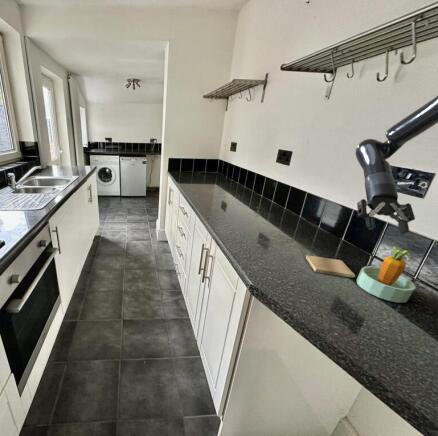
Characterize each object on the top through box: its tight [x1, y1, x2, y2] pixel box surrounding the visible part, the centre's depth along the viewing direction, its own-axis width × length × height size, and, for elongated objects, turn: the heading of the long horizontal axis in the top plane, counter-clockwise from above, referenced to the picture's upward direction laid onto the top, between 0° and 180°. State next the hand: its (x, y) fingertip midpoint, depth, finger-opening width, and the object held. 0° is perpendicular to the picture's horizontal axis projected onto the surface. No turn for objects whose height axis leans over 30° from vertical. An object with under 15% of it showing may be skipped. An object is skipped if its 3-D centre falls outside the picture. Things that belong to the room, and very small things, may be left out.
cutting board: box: [305, 254, 356, 279], centre depth 86 cm, size 12×10×1 cm
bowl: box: [356, 265, 417, 304], centre depth 74 cm, size 12×12×5 cm
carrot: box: [378, 246, 410, 286], centre depth 72 cm, size 5×5×15 cm
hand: (388, 231), depth 75 cm, fingers open, 8 cm apart
